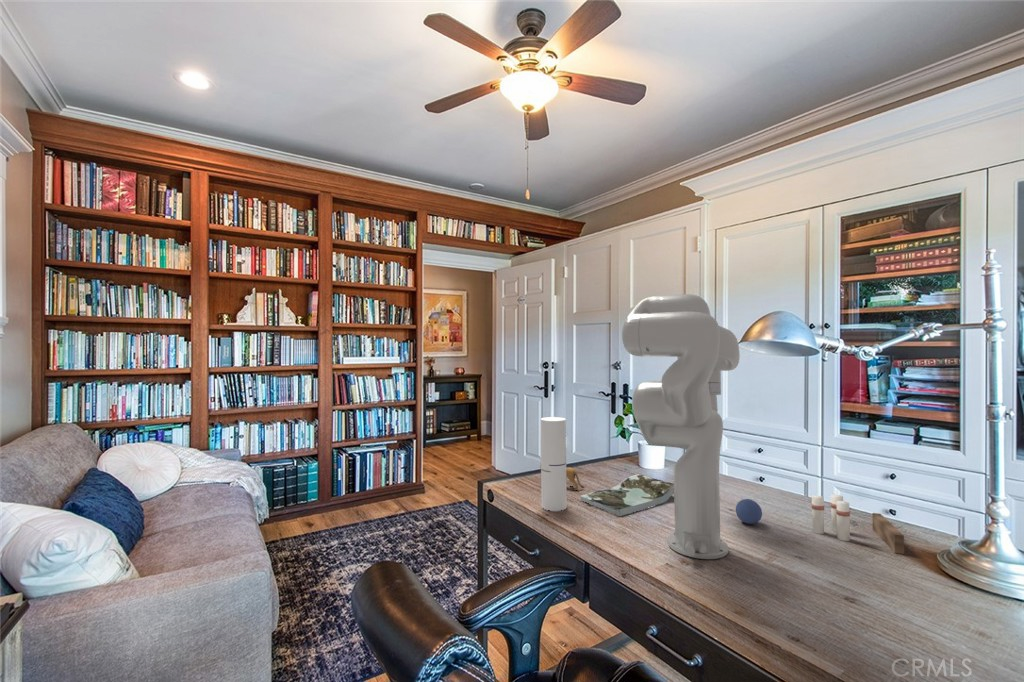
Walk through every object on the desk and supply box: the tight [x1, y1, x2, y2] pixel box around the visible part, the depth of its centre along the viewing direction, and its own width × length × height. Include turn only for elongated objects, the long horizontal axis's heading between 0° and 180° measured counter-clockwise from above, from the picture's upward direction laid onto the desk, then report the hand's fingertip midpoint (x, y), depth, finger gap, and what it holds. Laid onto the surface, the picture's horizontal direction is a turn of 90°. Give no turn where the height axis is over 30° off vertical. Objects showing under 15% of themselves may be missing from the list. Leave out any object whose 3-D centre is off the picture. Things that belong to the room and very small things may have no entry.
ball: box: [735, 498, 763, 525], centre depth 115 cm, size 6×6×6 cm
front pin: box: [810, 494, 825, 535], centre depth 110 cm, size 3×3×8 cm
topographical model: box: [579, 473, 674, 517], centre depth 134 cm, size 26×15×5 cm, turn 123°
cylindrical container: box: [540, 416, 568, 512], centre depth 129 cm, size 7×7×25 cm
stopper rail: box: [872, 512, 905, 555], centre depth 104 cm, size 14×2×4 cm, turn 157°
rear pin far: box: [830, 493, 844, 533], centre depth 110 cm, size 3×3×8 cm
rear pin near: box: [836, 500, 851, 542], centre depth 105 cm, size 3×3×8 cm
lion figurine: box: [539, 465, 585, 491], centre depth 147 cm, size 15×5×9 cm, turn 70°
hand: (706, 452), depth 121 cm, fingers open, 9 cm apart
